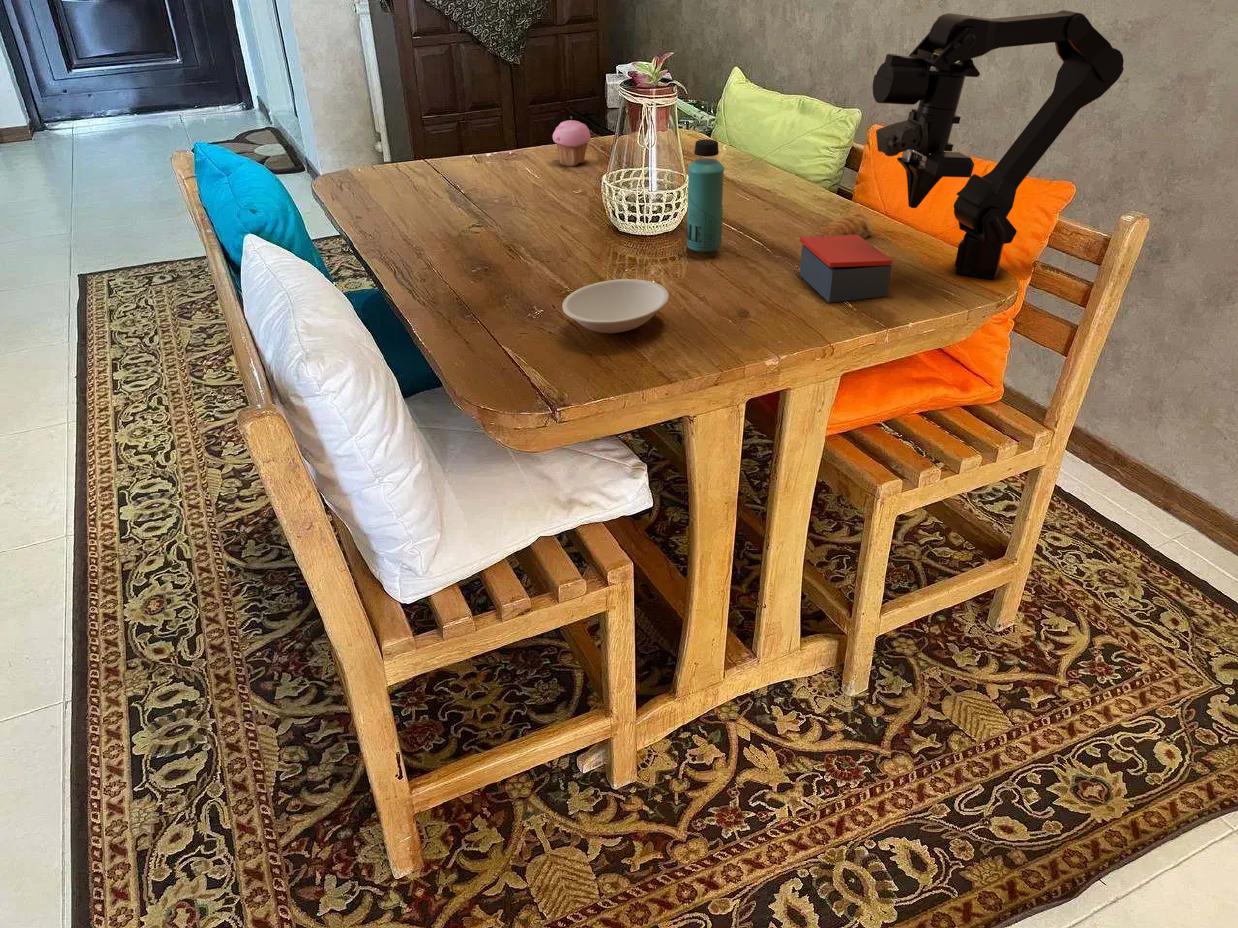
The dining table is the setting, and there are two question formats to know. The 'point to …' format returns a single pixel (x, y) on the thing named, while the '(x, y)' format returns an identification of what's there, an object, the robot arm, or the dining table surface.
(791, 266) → the dining table surface
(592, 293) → the dish
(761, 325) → the dining table surface
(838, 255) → the lid
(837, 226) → the pastry
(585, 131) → the cupcake
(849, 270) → the lunchbox
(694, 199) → the beverage bottle
